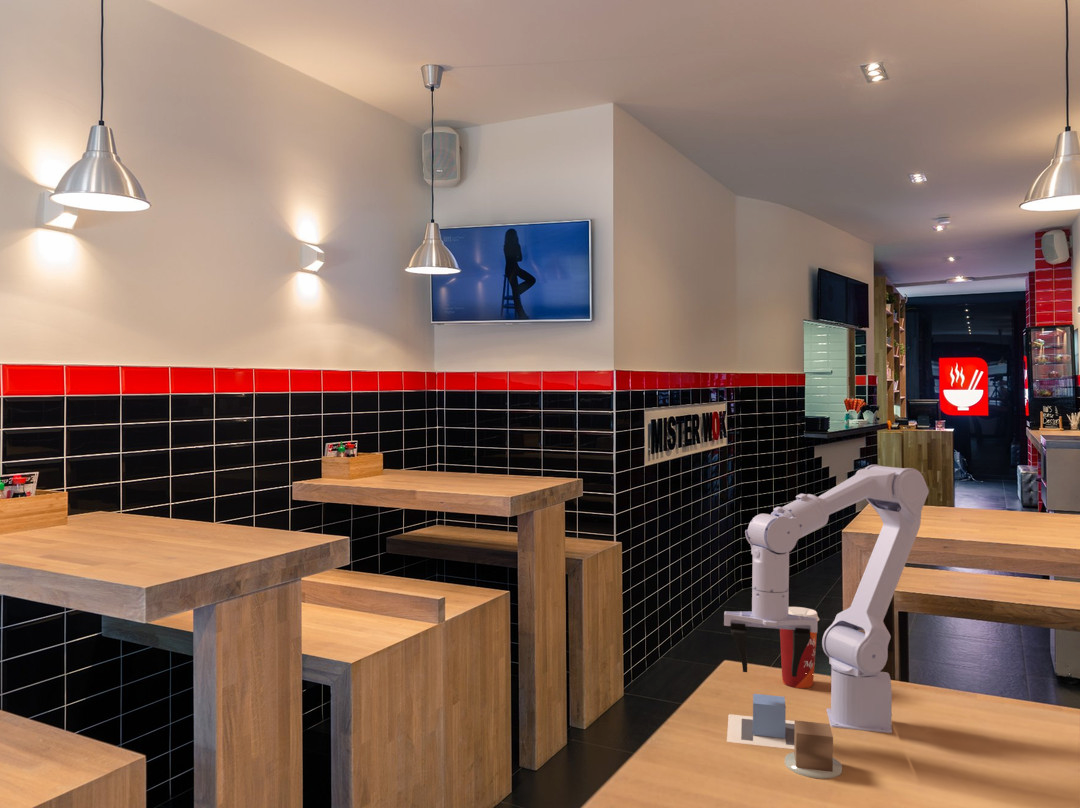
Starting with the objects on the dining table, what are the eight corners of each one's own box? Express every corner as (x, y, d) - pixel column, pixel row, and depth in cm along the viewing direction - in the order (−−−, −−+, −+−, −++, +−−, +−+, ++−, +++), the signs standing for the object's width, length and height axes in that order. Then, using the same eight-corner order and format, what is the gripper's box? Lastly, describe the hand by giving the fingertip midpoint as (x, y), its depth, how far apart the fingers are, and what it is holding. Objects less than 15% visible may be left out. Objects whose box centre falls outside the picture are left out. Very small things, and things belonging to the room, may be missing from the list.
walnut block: (829, 757, 122) (829, 723, 122) (832, 771, 117) (832, 736, 117) (794, 753, 123) (794, 720, 123) (796, 767, 118) (796, 733, 118)
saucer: (838, 760, 123) (838, 754, 123) (845, 783, 115) (845, 777, 115) (783, 753, 125) (783, 748, 125) (785, 776, 117) (785, 771, 117)
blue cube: (784, 727, 134) (784, 696, 134) (785, 738, 129) (785, 706, 130) (752, 723, 136) (753, 693, 136) (752, 734, 131) (753, 703, 131)
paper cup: (821, 691, 152) (822, 616, 153) (778, 688, 154) (779, 614, 154) (815, 678, 160) (816, 607, 160) (775, 675, 162) (776, 604, 162)
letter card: (808, 724, 137) (808, 722, 137) (813, 753, 125) (813, 751, 125) (728, 715, 140) (728, 713, 140) (726, 743, 128) (726, 741, 128)
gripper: (723, 591, 130) (722, 676, 130) (819, 597, 127) (818, 684, 127) (725, 582, 137) (724, 662, 137) (815, 587, 134) (814, 670, 134)
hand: (769, 672), depth 132 cm, fingers open, 7 cm apart
